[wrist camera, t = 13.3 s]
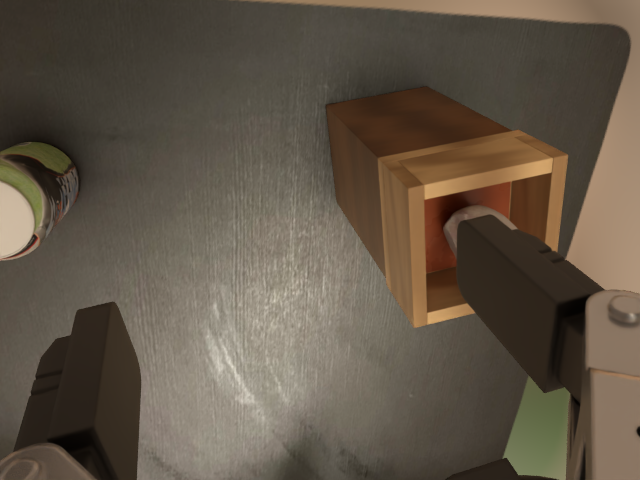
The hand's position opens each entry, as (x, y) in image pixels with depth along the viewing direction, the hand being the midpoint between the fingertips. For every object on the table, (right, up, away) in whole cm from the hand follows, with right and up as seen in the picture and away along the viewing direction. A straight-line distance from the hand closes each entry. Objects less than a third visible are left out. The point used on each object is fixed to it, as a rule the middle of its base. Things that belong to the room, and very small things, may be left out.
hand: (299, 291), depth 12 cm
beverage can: (-21, +7, +29) cm, 37 cm away
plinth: (+6, +9, +35) cm, 37 cm away
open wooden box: (+9, +3, +23) cm, 25 cm away
